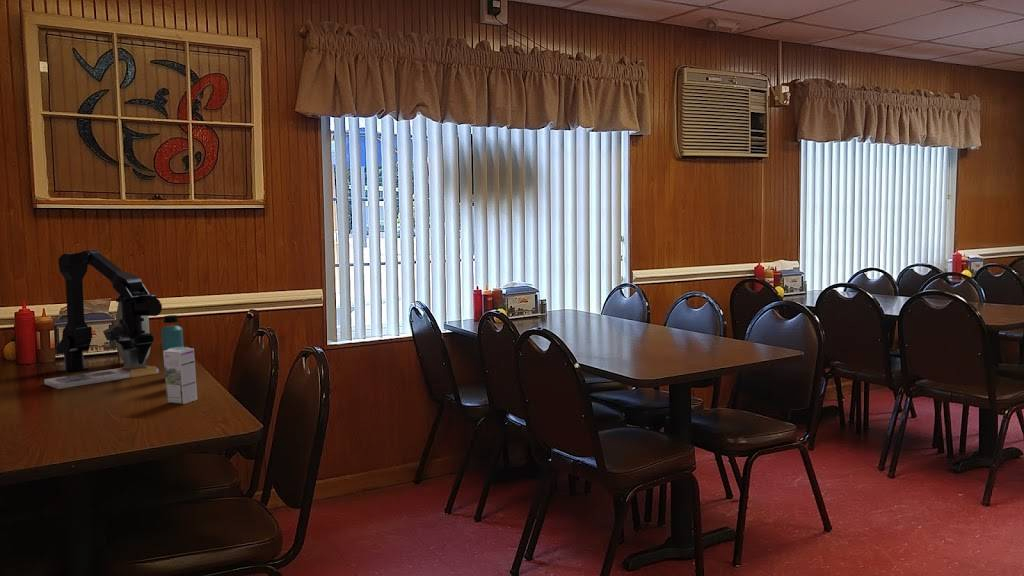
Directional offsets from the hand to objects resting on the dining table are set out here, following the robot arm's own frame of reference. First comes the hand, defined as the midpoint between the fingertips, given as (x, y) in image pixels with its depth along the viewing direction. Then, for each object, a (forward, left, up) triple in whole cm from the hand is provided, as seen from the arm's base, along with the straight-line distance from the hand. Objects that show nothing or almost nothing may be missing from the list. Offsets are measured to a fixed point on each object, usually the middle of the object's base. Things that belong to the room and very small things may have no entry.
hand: (134, 362), depth 254 cm
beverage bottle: (+20, +4, -4) cm, 21 cm away
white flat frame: (0, -10, -4) cm, 11 cm away
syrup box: (+55, -10, -4) cm, 56 cm away
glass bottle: (-20, +8, -4) cm, 22 cm away
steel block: (0, 0, -4) cm, 4 cm away
